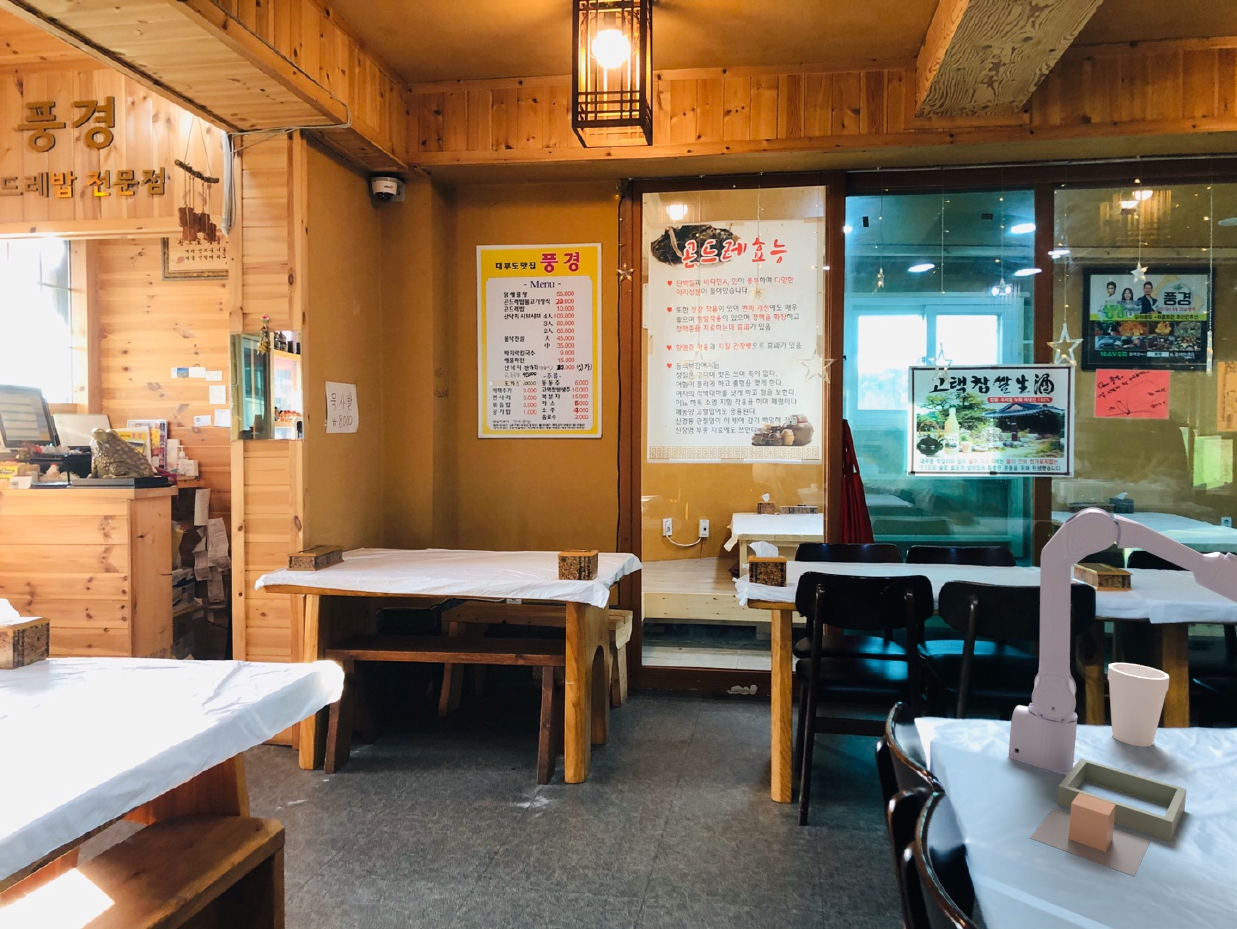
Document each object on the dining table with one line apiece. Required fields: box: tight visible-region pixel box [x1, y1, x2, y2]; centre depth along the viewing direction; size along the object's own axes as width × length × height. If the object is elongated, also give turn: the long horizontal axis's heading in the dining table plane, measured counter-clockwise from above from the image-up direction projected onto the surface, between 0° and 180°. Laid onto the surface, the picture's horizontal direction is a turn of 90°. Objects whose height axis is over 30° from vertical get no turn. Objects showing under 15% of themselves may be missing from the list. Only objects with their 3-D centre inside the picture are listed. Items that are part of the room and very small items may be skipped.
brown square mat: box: [1029, 807, 1151, 877], centre depth 106 cm, size 12×12×1 cm
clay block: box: [1068, 793, 1116, 852], centre depth 106 cm, size 4×4×5 cm
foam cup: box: [1107, 662, 1170, 748], centre depth 144 cm, size 10×9×13 cm
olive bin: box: [1056, 758, 1187, 842], centre depth 116 cm, size 14×14×4 cm
